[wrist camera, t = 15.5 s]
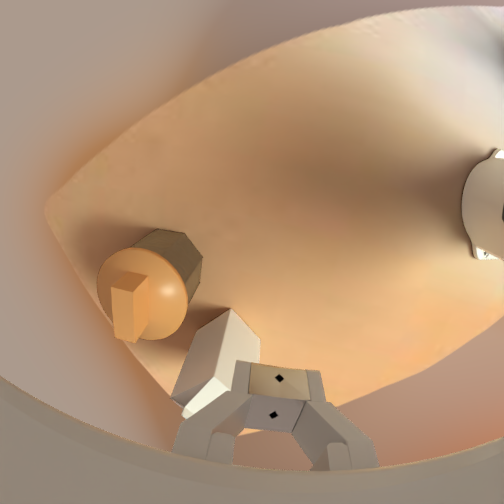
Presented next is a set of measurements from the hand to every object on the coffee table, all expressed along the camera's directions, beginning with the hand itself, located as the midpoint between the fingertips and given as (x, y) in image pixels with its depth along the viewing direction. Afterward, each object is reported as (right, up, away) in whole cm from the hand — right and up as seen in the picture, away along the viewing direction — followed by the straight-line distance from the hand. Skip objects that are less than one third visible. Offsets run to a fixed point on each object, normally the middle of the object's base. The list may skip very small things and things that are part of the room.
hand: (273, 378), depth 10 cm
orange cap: (-13, 0, +23) cm, 26 cm away
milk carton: (-4, -8, +34) cm, 35 cm away
